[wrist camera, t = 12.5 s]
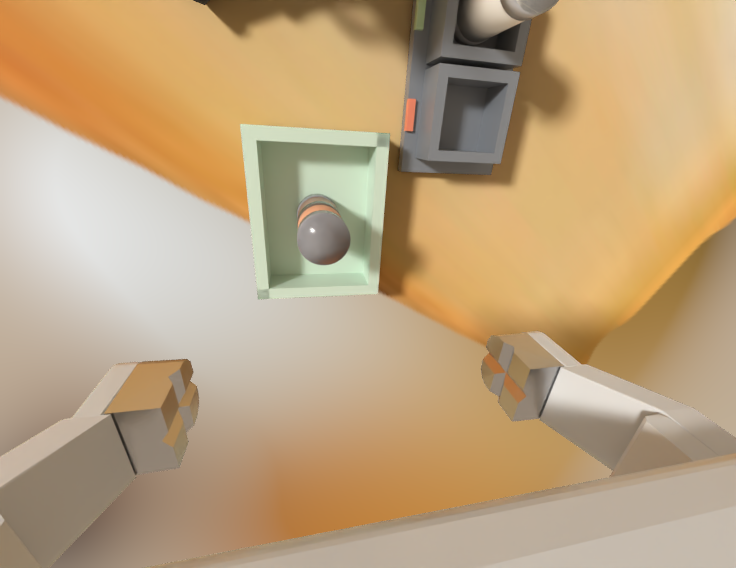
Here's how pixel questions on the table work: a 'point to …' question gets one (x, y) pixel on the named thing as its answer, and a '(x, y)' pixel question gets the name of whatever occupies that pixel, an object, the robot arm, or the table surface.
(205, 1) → the gun
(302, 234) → the fuse
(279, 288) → the tray
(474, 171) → the block
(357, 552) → the robot arm
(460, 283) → the table surface
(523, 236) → the table surface
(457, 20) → the ball
